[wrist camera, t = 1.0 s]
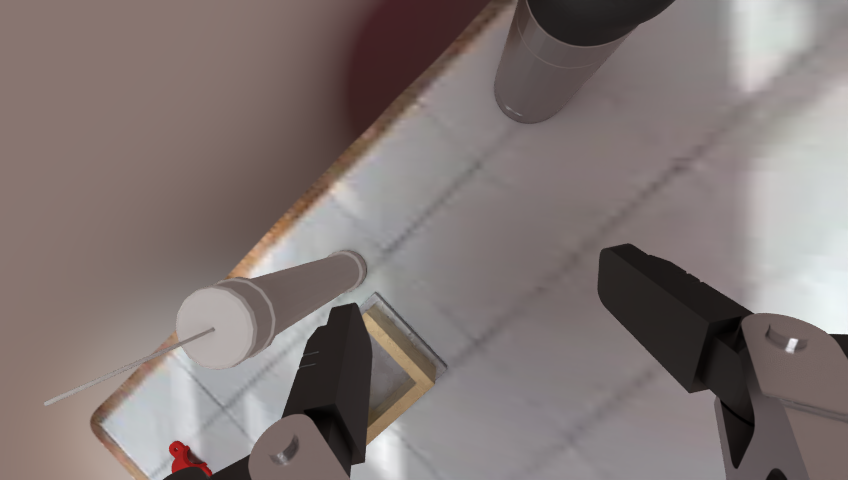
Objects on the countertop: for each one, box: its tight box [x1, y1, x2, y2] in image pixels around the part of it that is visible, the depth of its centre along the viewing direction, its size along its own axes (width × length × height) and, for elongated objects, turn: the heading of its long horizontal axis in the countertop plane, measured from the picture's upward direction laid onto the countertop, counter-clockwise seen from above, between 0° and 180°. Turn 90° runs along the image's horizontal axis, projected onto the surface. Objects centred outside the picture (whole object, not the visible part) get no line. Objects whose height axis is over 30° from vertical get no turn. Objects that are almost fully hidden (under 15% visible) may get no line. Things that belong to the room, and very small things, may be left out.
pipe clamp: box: [169, 441, 212, 476], centre depth 46 cm, size 8×3×2 cm, turn 49°
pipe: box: [44, 251, 366, 406], centre depth 28 cm, size 6×6×30 cm
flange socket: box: [359, 292, 447, 446], centre depth 41 cm, size 14×14×5 cm
